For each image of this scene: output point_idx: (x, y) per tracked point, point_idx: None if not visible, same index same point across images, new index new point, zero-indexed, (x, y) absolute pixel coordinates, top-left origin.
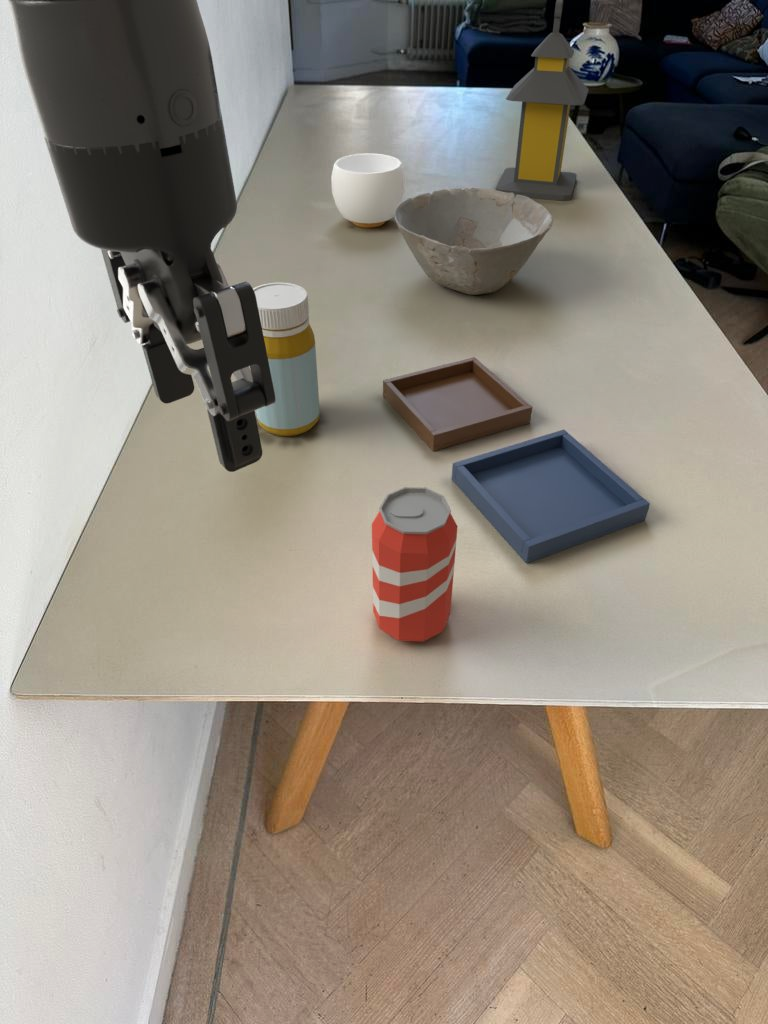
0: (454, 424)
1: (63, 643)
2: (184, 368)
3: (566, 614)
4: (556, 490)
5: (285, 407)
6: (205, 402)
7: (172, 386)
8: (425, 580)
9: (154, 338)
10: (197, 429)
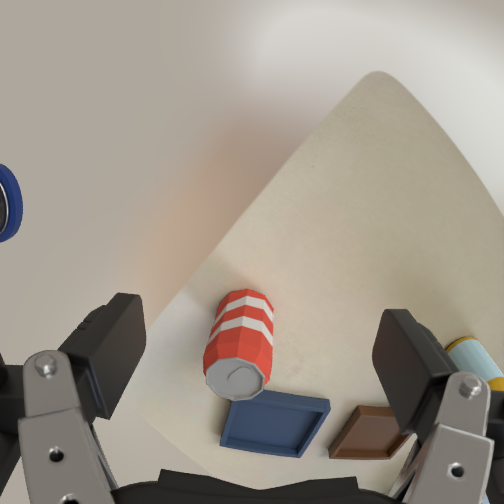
0: (362, 425)
1: (397, 103)
2: (42, 414)
3: (190, 371)
4: (269, 428)
5: (458, 362)
6: (41, 364)
7: (387, 343)
8: (209, 338)
9: (434, 405)
10: (501, 299)
